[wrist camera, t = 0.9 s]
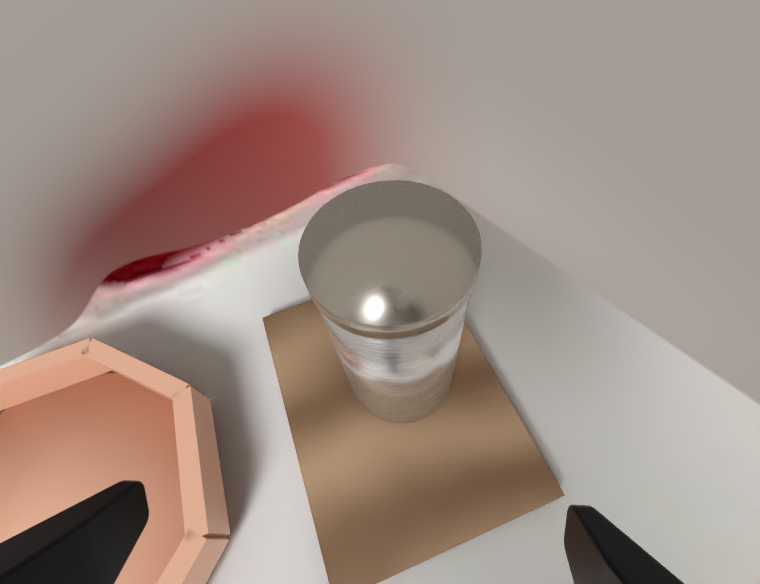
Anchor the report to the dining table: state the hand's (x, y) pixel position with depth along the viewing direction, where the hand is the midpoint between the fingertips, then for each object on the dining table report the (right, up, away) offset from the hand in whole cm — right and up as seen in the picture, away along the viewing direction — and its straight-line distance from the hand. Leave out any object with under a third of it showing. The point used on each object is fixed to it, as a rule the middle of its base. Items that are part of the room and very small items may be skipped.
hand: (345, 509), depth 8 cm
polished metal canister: (+2, 0, +15) cm, 16 cm away
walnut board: (+1, -2, +15) cm, 16 cm away
